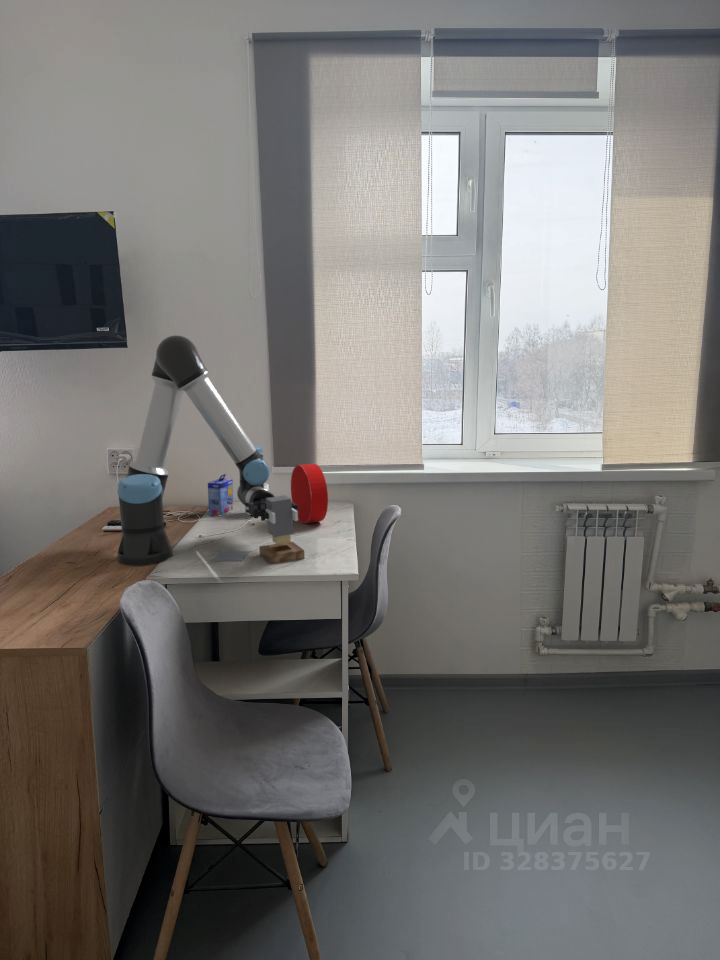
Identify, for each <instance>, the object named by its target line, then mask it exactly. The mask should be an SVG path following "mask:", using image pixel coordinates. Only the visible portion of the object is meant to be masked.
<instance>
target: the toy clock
mask: <svg viewBox="0 0 720 960" xmlns="http://www.w3.org/2000/svg"><path fill="white" fill-rule="evenodd" d="M290 478H291V479H290V495H291V497H290V498H291V502H293V503H295V504H297V505H298V509H299V514H298V520H299V522H300V523H302V524H310V523H315V522H316V523H317V522H322V521H324V519H325V518H326V516H327V512H328V507H329V494H328V493H329V491H328V487H327V482H326V479H325V475H324V472H323V470H322V469H321V467H320V466H319V465H318V464H316V463H307V464H297V465H295V466H294V467H293V469H292V473H291V477H290Z"/></svg>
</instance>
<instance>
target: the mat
mask: <svg viewBox="0 0 720 960" xmlns="http://www.w3.org/2000/svg"><path fill="white" fill-rule="evenodd" d="M249 553H250V550H218V552H216V554H215V555H213V556H212V557H211V559H209V562H243V560H244V559H245V558H246V557H247V556H248V554H249Z"/></svg>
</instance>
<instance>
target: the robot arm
mask: <svg viewBox="0 0 720 960" xmlns="http://www.w3.org/2000/svg"><path fill="white" fill-rule="evenodd" d="M197 349H198V348H197V346H196V345H195V343H194V342H192V341H191V340H190V339H189V338H187V337H185V336H182V335H176V334H175V335H170V336H167V337H165V338H164V339H163V340H161V342H159V344H158V346H157V348H156V351H155V353H156V354H155V360H154V364H153V369H152V372H151V378H152V380H153V382H154V387H153V391H152V395H151V399H150V402H149V403H150V404H149V407H148V411H147V415H146V417H145V418H146V419H145V422H144V427H143V432H142V435H141V439H140V442H139V448H138V451H137V455H136V459H135V460H134V461H133V462H130V463H129V466H128V470H127V473H126V477H123V478H122V479H120V480H119V482H118V483H117V495H118V503H119V513H120V527H121V538H120V541H119V545H118V548H117V562H118V563H120V564H122V565H125V566H127V565H128V566H145V565H152V564H158V563H160V562H164V561H166V559H167V560H169V559H171V558H172V557H173V556H174V554H173V546H172V544H171V541H170V540H169V537H168V535H167V532H166V530H165V521H164V520H165V519H164V506H163V500H164V495H165V489H166V486H167V485H166V484H167V481H168V477H169V471H168V470H167V468H166V464H167V461H168V456H169V453H170V447H171V444H172V440H173V436H174V433H175V429H176V425H177V422H178V421H177V420H178V417H179V414H180V409H181V406H182V402H183V401H182V400H183V397H184V393H186V395H187V396H188V398H189V399H190V401H191V402H192V404H193V405H194V407H195V408H196V409H197V411H198V413H199V414H200V415H201V417H202V418H203V420H204V421H205V423H206V424H207V426H208V427H209V428H210V429H211V431H212V433H213V434H214V436H215V437H216V438H217V440H218V441H219V442H220V444H221V445H222V447H223V448H224V451H226V452H227V454H228V456H229V457H230V459H231V461H233V463H234V464H235V466H236V468H237V469H238V471H239V473H238V474H239V486H238V488H237V492H236V494H237V495H236V496H237V498H238V500H239V501H240V502H241V504H242V505H244V507H245V508H244V509H245V513H246V512H248V513H250V514H251V515H252V516H251V517H253V519H255V520H256V519H259V517H260V521H262V522H264V521H266V520H269V521H270V522H271V523H273V524H274V523H275V513H274V512H272V511H270V510H269V509H266V498H270V497H276V496H275V495H274V494H273V493H272V492H270V490H269V491H267V490H266V489H264V483H267V481H268V479H269V478H270V474H271V473H270V467H269V465H268V464H267V462H266V461H265V460H264V454H263V452H264V451H263V447H261V446H260V445H254V444H253V442H252V441H251V439H250V438H249V436H248V434H247V433H246V432H245V430H244V428H243V427H242V426H241V424H240V423H239V421H238V420H237V418H236V417H235V416H234V414H233V412H232V411H231V409H230V408H229V406H228V405H227V403H226V402H225V401H224V399H223V397H222V396H221V394H220V393H219V392H218V390H217V388H216V387H215V386H214V384H213V383H212V381H211V379H210V378H209V377H208V376H209V375H208V374H209V370H208V369H207V367H206V366H205V364H204V362H203V359H202V358H201V357H200V355H199V352H198V350H197ZM291 505H292V519H293V521H295V522H298V520H299V519H298V514H299V509H298V505H297V504H295V503H293V502H292V501H291ZM171 556H172V557H171ZM170 557H171V558H170ZM168 558H169V559H168Z"/></svg>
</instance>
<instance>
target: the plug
mask: <svg viewBox="0 0 720 960" xmlns="http://www.w3.org/2000/svg"><path fill="white" fill-rule="evenodd" d="M291 502H292V498H291V497H288V496H286V495H276V496H275V497H270V498H266V509H269V510H270V511H272V512H274V513H275V523H274V524H273V523H271V522H270V521H269V520H267V519H266V520H267V530H268V533H269V534H270V535H271V537H272V542H273V543H274V544H282V543H288V542H292V540H291V535H294V533H295V532H294V520H293V519H292V505H291Z"/></svg>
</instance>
